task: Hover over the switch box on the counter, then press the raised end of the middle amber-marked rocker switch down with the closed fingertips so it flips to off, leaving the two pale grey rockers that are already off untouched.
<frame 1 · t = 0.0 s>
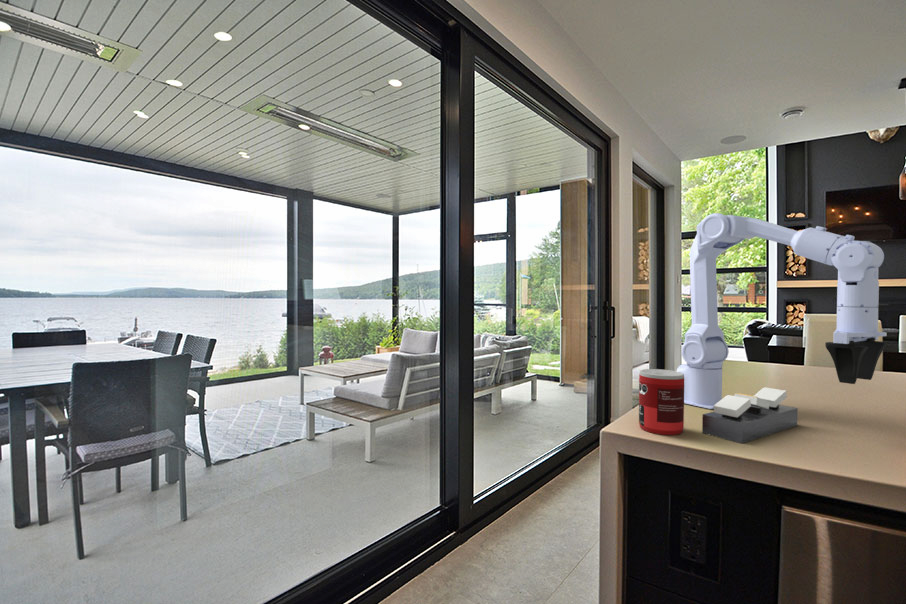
hand: (855, 381, 84), 10 cm above the countertop, tool pointing down, fingers open, 7 cm apart
rocker far: (769, 397, 92), point 5 cm above the countertop, hinge at 17.0°
switch box: (751, 429, 89), on the countertop
rocker mid: (751, 400, 88), point 5 cm above the countertop, hinge at -17.0°
rocker near: (732, 405, 85), point 5 cm above the countertop, hinge at 17.0°
canned food: (660, 430, 88), on the countertop
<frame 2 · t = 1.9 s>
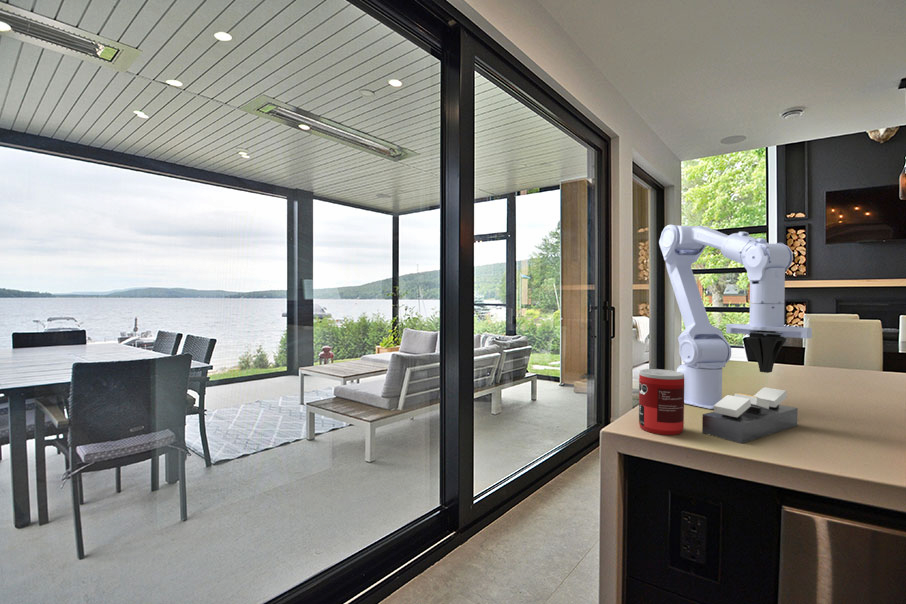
hand: (765, 371, 92), 10 cm above the countertop, tool pointing down, fingers closed
nothing on the countertop moved.
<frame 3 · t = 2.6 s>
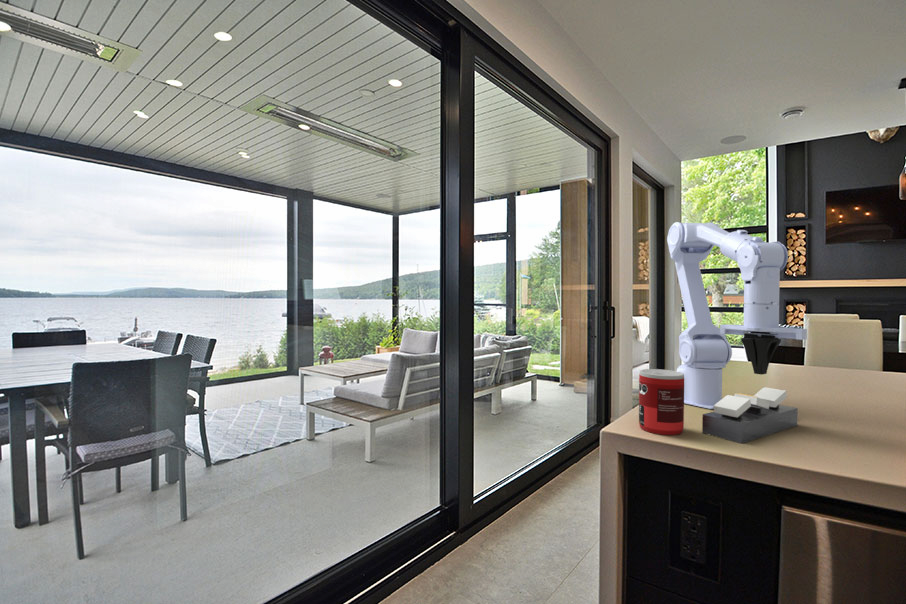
hand: (760, 373, 90), 10 cm above the countertop, tool pointing down, fingers closed
nothing on the countertop moved.
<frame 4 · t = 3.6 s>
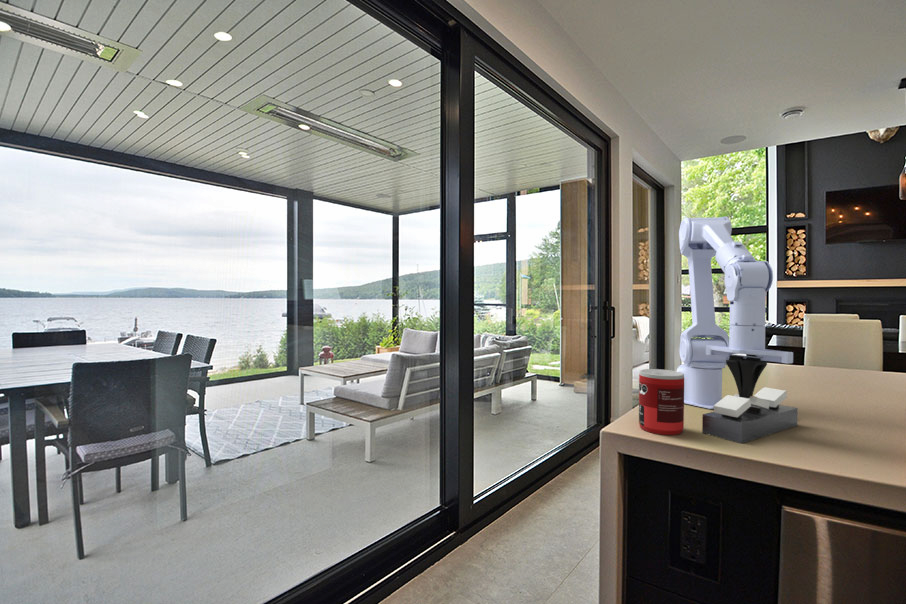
hand: (746, 397, 87), 6 cm above the countertop, tool pointing down, fingers closed, pressing on rocker mid
rocker mid: (751, 400, 88), point 5 cm above the countertop, hinge at -16.3°, touching gripper
everything else where it was.
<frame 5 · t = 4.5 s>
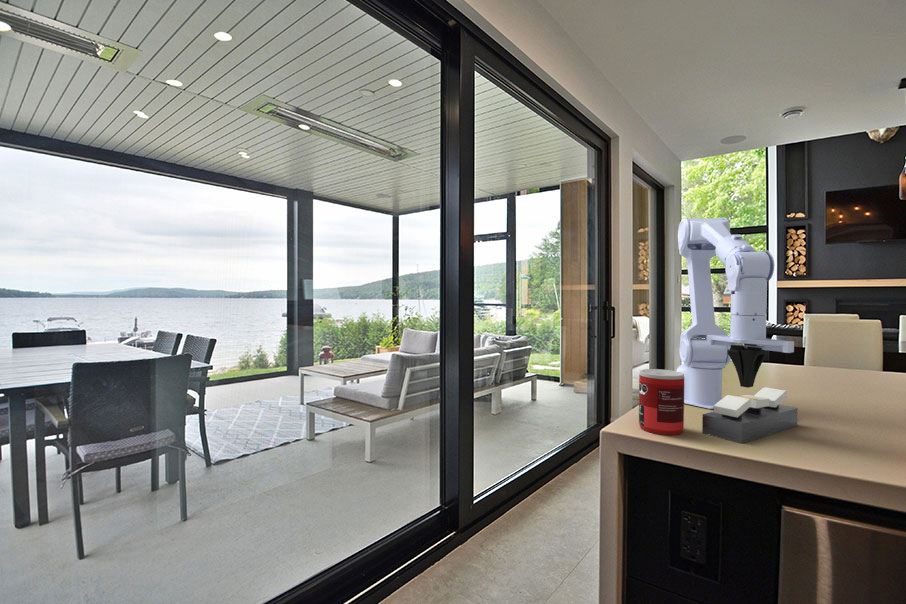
hand: (746, 386, 88), 8 cm above the countertop, tool pointing down, fingers closed
rocker mid: (751, 400, 88), point 5 cm above the countertop, hinge at -2.1°
everything else where it was.
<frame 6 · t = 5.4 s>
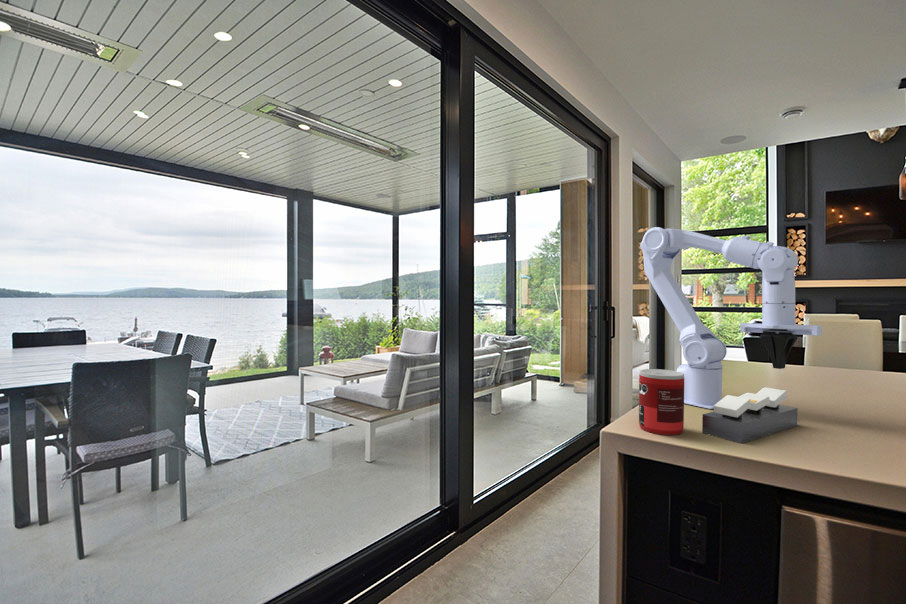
hand: (779, 368, 97), 10 cm above the countertop, tool pointing down, fingers closed
rocker mid: (751, 400, 88), point 5 cm above the countertop, hinge at 8.8°
everything else where it was.
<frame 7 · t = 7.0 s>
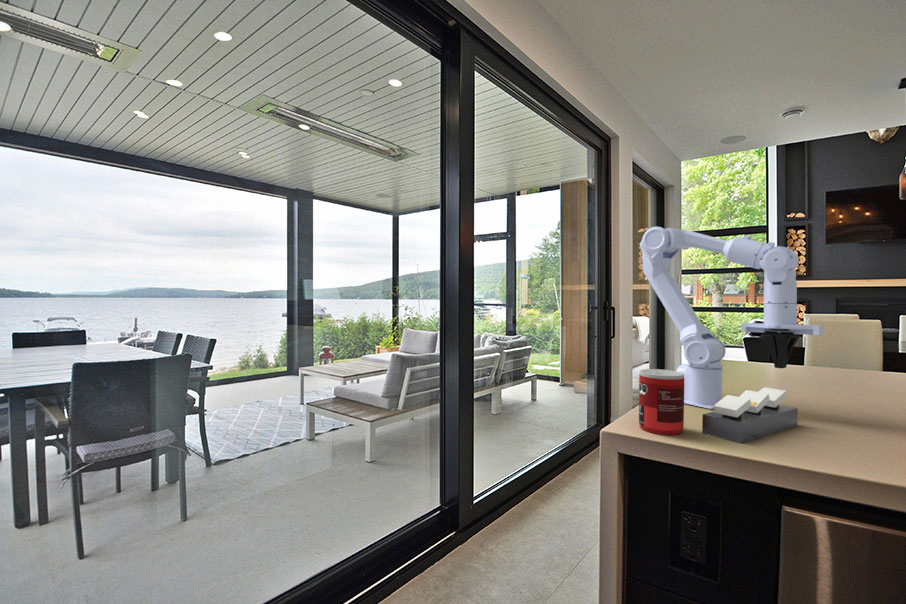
hand: (780, 367, 98), 10 cm above the countertop, tool pointing down, fingers closed
rocker mid: (751, 400, 88), point 5 cm above the countertop, hinge at 22.1°
everything else where it was.
at the end: rocker mid at +22° (first picture: -17°); rocker near at +17° (first picture: +17°); rocker far at +17° (first picture: +17°) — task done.
